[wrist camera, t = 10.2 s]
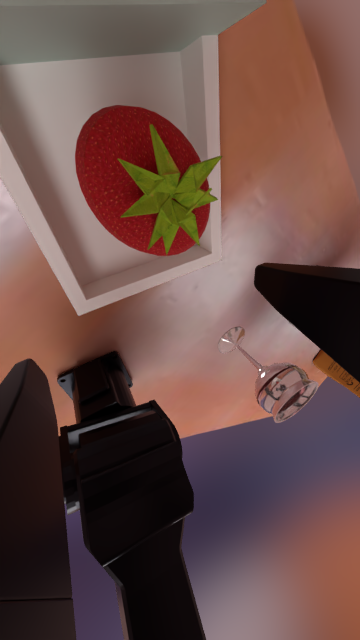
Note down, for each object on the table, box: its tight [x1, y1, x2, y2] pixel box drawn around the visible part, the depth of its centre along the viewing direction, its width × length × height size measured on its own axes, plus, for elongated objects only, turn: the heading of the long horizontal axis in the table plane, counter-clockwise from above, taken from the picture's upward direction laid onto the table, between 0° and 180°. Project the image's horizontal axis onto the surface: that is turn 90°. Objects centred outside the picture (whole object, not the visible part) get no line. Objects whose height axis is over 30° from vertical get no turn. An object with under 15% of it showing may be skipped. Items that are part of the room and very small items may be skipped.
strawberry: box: [75, 105, 222, 256], centre depth 12 cm, size 6×8×10 cm
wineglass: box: [218, 327, 319, 423], centre depth 30 cm, size 7×7×12 cm
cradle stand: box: [0, 0, 266, 316], centre depth 13 cm, size 18×13×8 cm
